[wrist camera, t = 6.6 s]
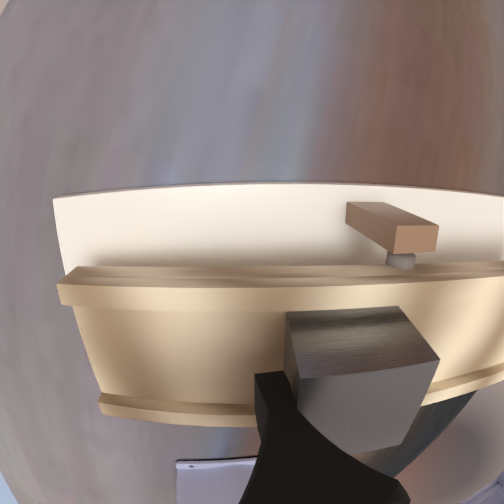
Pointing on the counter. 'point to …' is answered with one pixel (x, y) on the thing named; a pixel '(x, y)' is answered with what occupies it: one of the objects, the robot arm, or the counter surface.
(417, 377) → the block
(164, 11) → the counter surface
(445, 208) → the beam stand
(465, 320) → the balance beam
